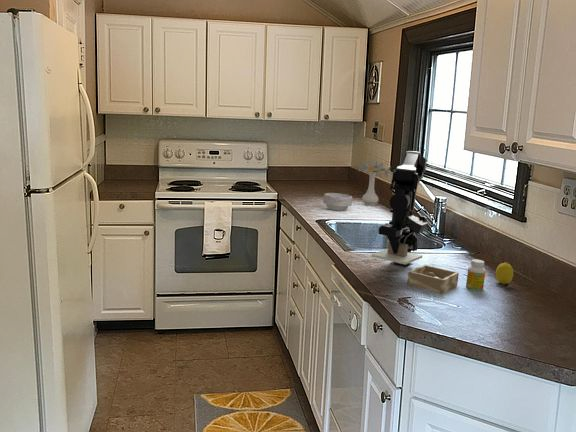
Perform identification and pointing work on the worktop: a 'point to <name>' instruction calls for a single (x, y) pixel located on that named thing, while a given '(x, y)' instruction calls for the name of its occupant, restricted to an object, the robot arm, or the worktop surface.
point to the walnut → (431, 274)
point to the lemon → (504, 273)
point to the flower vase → (372, 181)
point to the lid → (401, 255)
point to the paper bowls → (337, 201)
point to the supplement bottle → (476, 275)
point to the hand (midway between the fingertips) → (397, 252)
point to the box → (432, 279)
